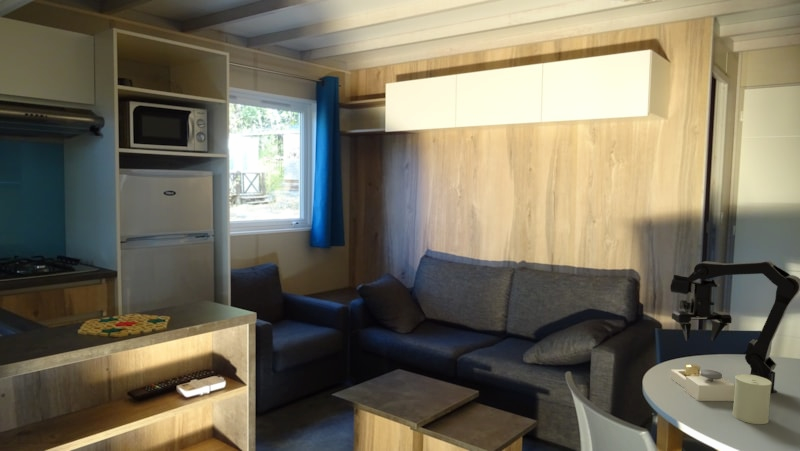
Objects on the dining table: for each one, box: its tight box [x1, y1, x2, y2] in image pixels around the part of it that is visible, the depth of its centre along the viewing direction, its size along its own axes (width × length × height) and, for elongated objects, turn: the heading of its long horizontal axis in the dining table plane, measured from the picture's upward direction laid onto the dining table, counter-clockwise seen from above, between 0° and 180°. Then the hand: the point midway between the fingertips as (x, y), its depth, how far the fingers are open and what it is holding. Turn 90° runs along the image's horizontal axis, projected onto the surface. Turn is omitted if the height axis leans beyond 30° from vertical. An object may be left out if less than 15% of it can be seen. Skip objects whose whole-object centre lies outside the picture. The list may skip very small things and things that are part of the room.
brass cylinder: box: [684, 363, 701, 377], centre depth 198 cm, size 4×4×6 cm
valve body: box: [669, 369, 735, 402], centre depth 193 cm, size 12×20×8 cm, turn 2°
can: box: [731, 373, 772, 425], centre depth 171 cm, size 9×9×12 cm
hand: (699, 340), depth 206 cm, fingers open, 9 cm apart
